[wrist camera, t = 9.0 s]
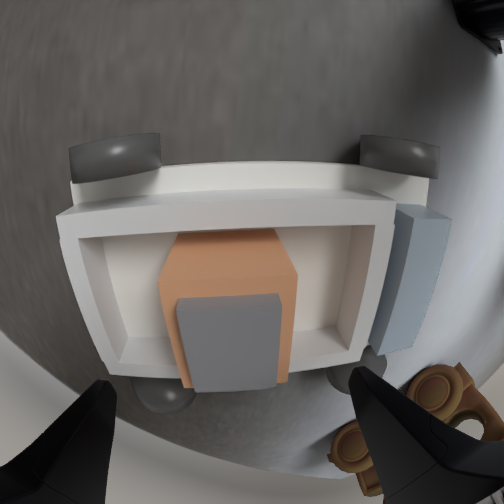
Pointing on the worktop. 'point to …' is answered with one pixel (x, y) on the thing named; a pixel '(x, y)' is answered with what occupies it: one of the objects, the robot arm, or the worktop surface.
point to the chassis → (255, 218)
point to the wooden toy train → (435, 402)
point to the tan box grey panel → (230, 309)
